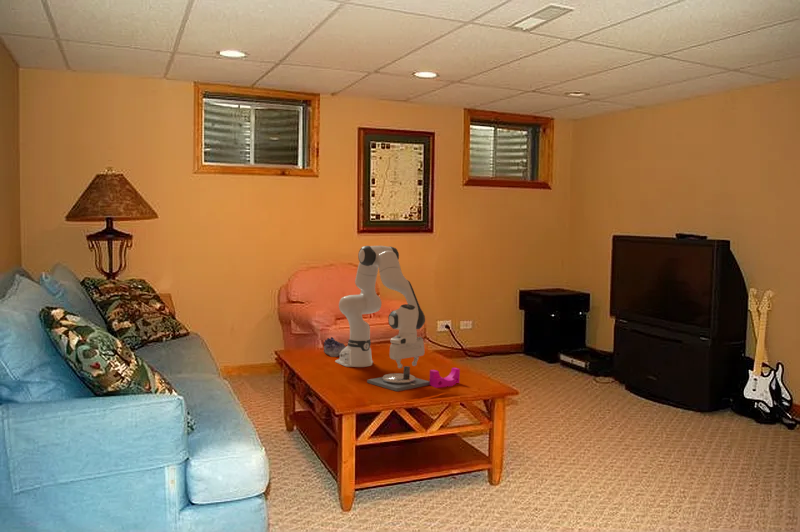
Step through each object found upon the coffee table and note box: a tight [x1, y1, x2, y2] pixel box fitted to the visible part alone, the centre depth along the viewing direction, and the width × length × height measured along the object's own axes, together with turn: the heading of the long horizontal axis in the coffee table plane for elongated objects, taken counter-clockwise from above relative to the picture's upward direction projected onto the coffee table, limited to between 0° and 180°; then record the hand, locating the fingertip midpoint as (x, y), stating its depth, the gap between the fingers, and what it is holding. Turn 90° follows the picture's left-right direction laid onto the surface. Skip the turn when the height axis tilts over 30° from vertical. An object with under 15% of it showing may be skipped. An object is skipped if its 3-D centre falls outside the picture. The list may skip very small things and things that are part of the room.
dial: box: [382, 365, 416, 384], centre depth 322 cm, size 16×16×8 cm
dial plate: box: [366, 376, 431, 392], centre depth 322 cm, size 22×22×2 cm
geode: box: [323, 337, 346, 358], centre depth 391 cm, size 20×12×10 cm, turn 29°
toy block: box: [429, 367, 461, 389], centre depth 322 cm, size 15×6×8 cm, turn 119°
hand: (407, 366), depth 317 cm, fingers open, 8 cm apart
